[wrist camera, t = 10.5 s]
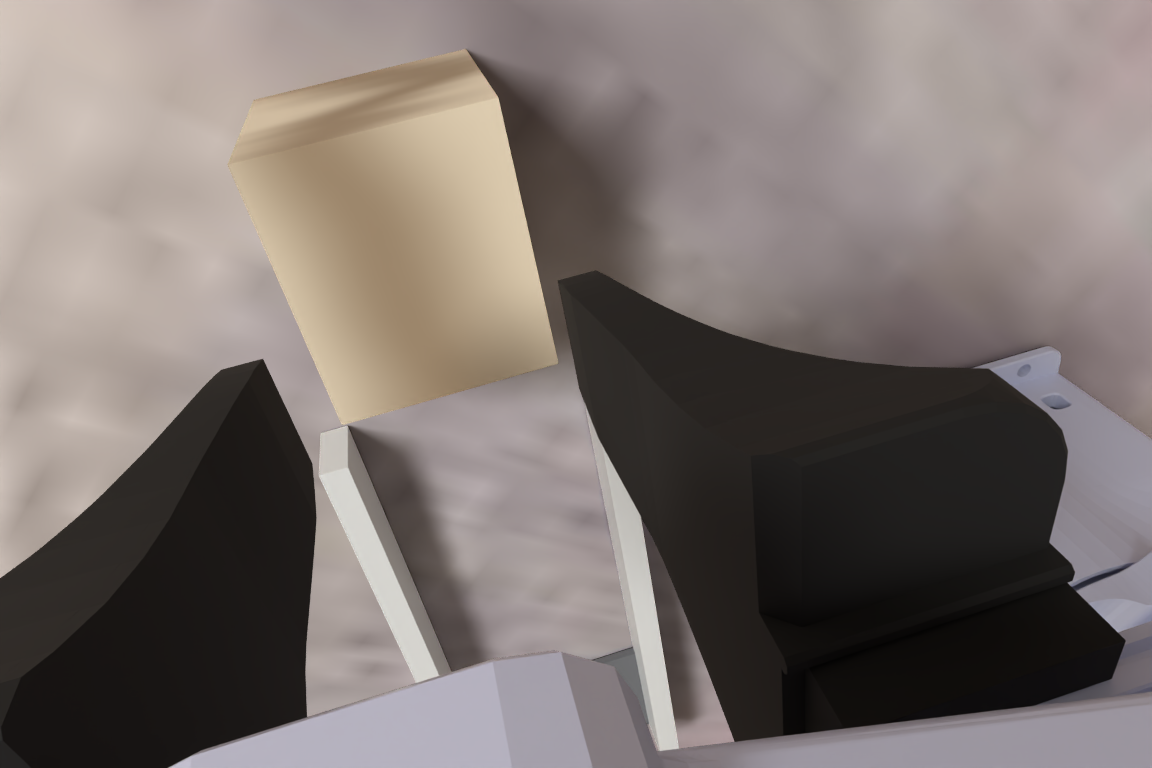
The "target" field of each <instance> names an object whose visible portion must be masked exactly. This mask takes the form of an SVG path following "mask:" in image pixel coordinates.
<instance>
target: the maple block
mask: <svg viewBox="0 0 1152 768" xmlns="http://www.w3.org/2000/svg"><path fill="white" fill-rule="evenodd" d="M228 167H229V169H230V172H231V174H232V176H233V178H234V181H235V183H236V185H237V188H238V190H239V192H240V194H241V197H242V199H243V201H244V203H245V206H246V208H247V210H248V213H249V215H250V217H251V219H252V222H253V224H254V226H255V228H256V231H257V233H258V235H259V238H260V240H261V242H262V244H263V247H264V249H265V251H266V253H267V256H268V258H269V260H270V263H271V265H272V267H273V269H274V272H275V274H276V276H277V278H278V281H279V283H280V285H281V288H282V290H283V292H284V294H285V297H286V299H287V301H288V303H289V306H290V308H291V310H292V313H293V315H294V317H295V319H296V322H297V324H298V326H299V328H300V331H301V333H302V335H303V338H304V340H305V342H306V344H307V347H308V349H309V351H310V353H311V356H312V358H313V360H314V363H315V365H316V367H317V369H318V372H319V374H320V376H321V378H322V381H323V383H324V385H325V388H326V390H327V392H328V394H329V397H330V399H331V401H332V403H333V406H334V408H335V410H336V413H337V415H338V417H339V419H340V422H341V424H342V425H344V424H348V423H351V422H355V421H358V420H362V419H365V418H369V417H372V416H376V415H380V414H383V413H387V412H390V411H394V410H397V409H401V408H404V407H408V406H411V405H415V404H418V403H422V402H425V401H429V400H432V399H436V398H439V397H443V396H446V395H450V394H453V393H457V392H460V391H464V390H467V389H471V388H474V387H478V386H481V385H485V384H489V383H492V382H496V381H499V380H503V379H506V378H510V377H513V376H517V375H520V374H524V373H527V372H531V371H534V370H538V369H541V368H545V367H548V366H552V365H555V364H558V359H557V355H556V350H555V346H554V342H553V337H552V333H551V328H550V324H549V319H548V315H547V311H546V306H545V302H544V297H543V293H542V288H541V284H540V280H539V275H538V271H537V266H536V262H535V258H534V253H533V249H532V244H531V240H530V235H529V231H528V227H527V222H526V218H525V213H524V209H523V204H522V200H521V196H520V191H519V187H518V182H517V178H516V173H515V169H514V165H513V160H512V156H511V151H510V147H509V143H508V138H507V134H506V129H505V125H504V120H503V116H502V112H501V107H500V103H499V98H498V96H497V95H496V93H495V92H494V90H493V89H492V87H491V86H490V84H489V83H488V81H487V80H486V78H485V77H484V75H483V74H482V72H481V71H480V69H479V68H478V66H477V65H476V63H475V62H474V60H473V59H472V58H471V56H470V55H469V53H468V52H467V50H466V49H464V50H460V51H455V52H451V53H447V54H443V55H439V56H435V57H430V58H426V59H422V60H418V61H414V62H410V63H406V64H401V65H397V66H393V67H389V68H385V69H381V70H377V71H372V72H368V73H364V74H360V75H356V76H352V77H347V78H343V79H339V80H335V81H331V82H327V83H323V84H318V85H314V86H310V87H306V88H302V89H298V90H293V91H289V92H285V93H281V94H277V95H273V96H269V97H264V98H260V99H256V100H254V101H253V103H252V106H251V108H250V110H249V113H248V115H247V118H246V120H245V123H244V125H243V128H242V130H241V133H240V135H239V138H238V140H237V142H236V145H235V147H234V150H233V152H232V155H231V157H230V160H229V162H228Z"/></svg>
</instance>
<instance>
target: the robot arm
mask: <svg viewBox="0 0 1152 768" xmlns="http://www.w3.org/2000/svg"><path fill="white" fill-rule="evenodd" d="M558 284H559V289H560V294H561V299H562V304H563V309H564V314H565V319H566V324H567V329H568V334H569V339H570V344H571V349H572V354H573V359H574V364H575V369H576V374H577V379H578V384H579V389H580V391H581V394H582V397H583V399H584V402H585V405H586V407H587V410H588V413H589V416H590V418H591V421H592V423H593V426H594V428H595V431H596V434H597V436H598V438H599V440H600V442H601V444H602V446H603V448H604V450H605V452H606V453H607V455H608V457H609V459H610V461H611V463H612V465H613V466H614V468H615V470H616V472H617V474H618V476H619V477H620V479H621V481H622V483H623V485H624V487H625V488H626V490H627V492H628V494H629V496H630V498H631V499H632V501H633V503H634V505H635V507H636V509H637V510H638V512H639V514H640V516H641V518H642V520H643V521H644V523H645V525H646V527H647V529H648V531H649V532H650V534H651V536H652V538H653V540H654V542H655V544H656V546H657V548H658V550H659V552H660V554H661V556H662V559H663V561H664V563H665V565H666V568H667V570H668V573H669V575H670V578H671V580H672V583H673V585H674V587H675V590H676V592H677V595H678V597H679V600H680V602H681V605H682V607H683V609H684V612H685V614H686V617H687V619H688V622H689V625H690V627H691V630H692V632H693V635H694V637H695V640H696V642H697V645H698V647H699V650H700V652H701V655H702V657H703V660H704V663H705V665H706V668H707V670H708V673H709V675H710V678H711V681H712V683H713V686H714V689H715V691H716V694H717V696H718V699H719V702H720V704H721V707H722V710H723V712H724V715H725V717H726V720H727V723H728V725H729V728H730V731H731V733H732V736H733V738H734V741H735V742H730V743H722V744H713V745H705V746H697V747H688V748H680V749H672V750H663V751H656V748H655V746H654V743H653V740H652V737H651V734H650V731H649V729H648V726H647V723H646V720H645V717H644V714H643V712H642V709H641V706H640V703H639V700H638V698H637V697H636V695H635V694H634V693H633V691H632V690H631V689H630V687H629V686H628V685H627V683H626V682H625V681H624V679H623V678H622V677H621V675H620V674H619V673H618V671H617V670H616V669H615V667H614V666H610V665H607V664H603V663H599V662H596V661H592V660H588V659H585V658H581V657H577V656H574V655H570V654H566V653H563V652H559V651H554V650H553V651H546V652H539V653H531V654H524V655H517V656H510V657H502V658H495V659H491V660H488V661H485V662H481V663H478V664H475V665H472V666H469V667H465V668H462V669H459V670H456V671H453V672H450V673H446V674H443V675H440V676H437V677H434V678H430V679H427V680H424V681H421V682H418V683H415V684H411V685H408V686H405V687H402V688H399V689H395V690H392V691H389V692H386V693H383V694H379V695H376V696H373V697H370V698H367V699H364V700H360V701H357V702H354V703H351V704H348V705H344V706H341V707H338V708H335V709H332V710H329V711H325V712H322V713H319V714H316V715H313V716H309V717H307V706H306V679H305V665H306V640H307V629H308V617H309V605H310V594H311V582H312V570H313V558H314V545H315V532H316V504H315V489H314V478H313V466H312V462H311V460H310V458H309V456H308V454H307V451H306V449H305V447H304V445H303V443H302V441H301V439H300V437H299V434H298V432H297V430H296V428H295V426H294V424H293V422H292V420H291V417H290V415H289V413H288V411H287V409H286V407H285V405H284V403H283V400H282V398H281V396H280V394H279V392H278V390H277V388H276V386H275V384H274V381H273V379H272V377H271V375H270V373H269V371H268V369H267V367H266V364H265V362H264V360H263V359H260V360H257V361H253V362H249V363H245V364H242V365H238V366H234V367H230V368H227V369H223V370H221V371H220V372H218V373H217V374H216V375H215V376H214V377H213V378H212V379H211V380H210V381H209V382H208V383H207V384H206V385H205V386H204V387H203V388H202V389H201V390H200V391H199V392H198V393H197V395H196V396H195V397H194V398H193V399H192V400H191V401H190V402H189V404H188V405H187V406H186V407H185V408H184V409H183V410H182V411H181V412H180V414H179V415H178V416H177V417H176V418H175V419H174V420H173V421H172V422H171V424H170V425H169V426H168V427H167V428H166V429H165V430H164V431H163V432H162V434H161V435H160V436H159V437H158V438H157V439H156V440H155V441H154V442H153V443H152V445H151V446H150V447H149V448H148V449H147V450H146V451H145V452H144V453H143V454H142V455H141V456H140V457H139V458H138V459H137V460H136V461H135V462H134V463H133V464H132V465H131V466H130V467H129V468H128V469H127V470H126V471H125V472H124V473H123V474H122V475H121V476H120V477H119V478H118V479H117V480H116V481H115V482H114V483H113V484H112V485H111V486H110V487H109V488H108V489H107V490H106V491H105V492H104V493H103V494H102V495H101V496H100V497H99V498H98V499H97V500H96V501H95V502H94V503H93V504H92V505H91V506H90V507H88V508H87V509H86V510H85V511H84V512H83V513H82V514H81V515H80V516H78V517H77V518H76V519H75V520H74V521H73V522H72V523H70V524H69V525H68V526H67V527H66V528H64V529H63V530H62V531H61V532H60V533H58V534H57V535H56V536H55V537H54V538H52V539H51V540H50V541H49V542H48V543H46V544H45V545H44V546H43V547H42V548H40V549H39V550H38V551H37V552H35V553H34V554H33V555H31V556H30V557H29V558H27V559H26V560H25V561H23V562H22V563H21V564H19V565H18V566H17V567H15V568H14V569H12V570H11V571H10V572H8V573H7V574H6V575H4V576H3V577H1V578H0V768H1152V439H1151V438H1149V437H1148V436H1147V435H1145V434H1144V433H1142V432H1141V431H1140V430H1138V429H1137V428H1135V427H1134V426H1132V425H1131V424H1130V423H1128V422H1127V421H1125V420H1124V419H1122V418H1121V417H1120V416H1118V415H1117V414H1115V413H1114V412H1113V411H1111V410H1110V409H1108V408H1107V407H1105V406H1104V405H1103V404H1101V403H1100V402H1098V401H1097V400H1096V399H1094V398H1093V397H1091V396H1090V395H1088V394H1087V393H1086V392H1084V391H1083V390H1081V389H1080V388H1079V387H1077V386H1076V385H1074V384H1073V383H1071V382H1070V381H1069V380H1067V379H1066V378H1064V377H1063V376H1062V375H1060V374H1059V373H1058V370H1059V366H1060V362H1061V354H1060V352H1059V351H1058V350H1056V349H1055V348H1053V347H1051V346H1046V347H1042V348H1038V349H1035V350H1032V351H1028V352H1025V353H1021V354H1018V355H1015V356H1011V357H1008V358H1004V359H1001V360H998V361H994V362H991V363H987V364H984V365H981V366H977V367H974V368H937V367H905V366H893V365H882V364H872V363H861V362H853V361H846V360H839V359H832V358H826V357H821V356H815V355H810V354H805V353H800V352H795V351H790V350H785V349H781V348H777V347H773V346H769V345H765V344H762V343H759V342H755V341H752V340H748V339H745V338H742V337H738V336H735V335H732V334H729V333H726V332H723V331H720V330H718V329H715V328H713V327H710V326H708V325H705V324H703V323H700V322H698V321H695V320H693V319H690V318H688V317H686V316H684V315H681V314H679V313H677V312H675V311H673V310H670V309H668V308H666V307H664V306H662V305H660V304H658V303H656V302H654V301H652V300H650V299H648V298H646V297H644V296H643V295H641V294H639V293H637V292H635V291H633V290H631V289H630V288H628V287H626V286H624V285H622V284H620V283H619V282H617V281H615V280H613V279H611V278H610V277H608V276H606V275H604V274H602V273H600V272H598V271H592V272H589V273H585V274H581V275H577V276H574V277H570V278H566V279H562V280H558Z"/></svg>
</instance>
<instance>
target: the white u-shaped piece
mask: <svg viewBox="0 0 1152 768" xmlns="http://www.w3.org/2000/svg"><path fill="white" fill-rule="evenodd" d="M584 404H585V402H584ZM585 409H586V414H587V419H588V424H589V429H590V434H591V439H592V444H593V449H594V454H595V459H596V464H597V469H598V475H599V480H600V485H601V490H602V495H603V500H604V505H605V510H606V515H607V520H608V525H609V530H610V535H611V540H612V545H613V550H614V555H615V560H616V565H617V570H618V575H619V580H620V585H621V590H622V595H623V600H624V605H625V610H626V615H627V620H628V625H629V630H630V635H631V640H632V645H633V648H630V649H627V650H623V651H620V652H617V653H614V654H611V655H608V656H605V657H602V658H598V659H595V660H592V661H596V662H599V663H603V664H607V665H610V666H614V667H615V669H616V670H617V671H618V673H619V674H620V675H621V677H622V678H623V679H624V681H625V682H626V683H627V685H628V686H629V687H630V689H631V690H632V691H633V693H634V694H635V695H636V697H637V698H638V700H639V703H640V706H641V709H642V712H643V714H644V717H645V720H646V723H647V724H649V725H650V728H651V731H652V734H653V736H654V739H655V742H656V745H657V748H658V750H659V751H663V750H672V749H679V746H678V740H677V734H676V728H675V722H674V716H673V710H672V703H671V697H670V691H669V685H668V679H667V673H666V667H665V661H664V655H663V649H662V643H661V637H660V631H659V624H658V618H657V612H656V606H655V600H654V594H653V588H652V582H651V576H650V570H649V564H648V558H647V552H646V546H645V539H644V533H643V527H642V521H641V516H640V514H639V512H638V510H637V509H636V507H635V505H634V503H633V501H632V499H631V498H630V496H629V494H628V492H627V490H626V488H625V487H624V485H623V483H622V481H621V479H620V477H619V476H618V474H617V472H616V470H615V468H614V466H613V465H612V463H611V461H610V459H609V457H608V455H607V453H606V452H605V450H604V448H603V446H602V444H601V442H600V440H599V438H598V436H597V434H596V431H595V428H594V426H593V423H592V421H591V418H590V416H589V413H588V410H587V407H586V405H585ZM319 477H320V479H321V481H322V484H323V486H324V488H325V490H326V492H327V494H328V496H329V498H330V501H331V503H332V505H333V507H334V509H335V511H336V513H337V515H338V518H339V520H340V522H341V524H342V526H343V528H344V530H345V532H346V535H347V537H348V539H349V541H350V543H351V545H352V547H353V549H354V552H355V554H356V556H357V558H358V560H359V562H360V564H361V566H362V569H363V571H364V573H365V575H366V577H367V579H368V581H369V583H370V586H371V588H372V590H373V592H374V594H375V596H376V598H377V600H378V603H379V605H380V607H381V609H382V611H383V613H384V615H385V617H386V620H387V622H388V624H389V626H390V628H391V630H392V632H393V634H394V637H395V639H396V641H397V643H398V645H399V647H400V649H401V651H402V654H403V656H404V658H405V660H406V662H407V664H408V666H409V668H410V671H411V673H412V675H413V677H414V679H415V681H416V683H418V682H421V681H424V680H427V679H430V678H434V677H437V676H440V675H443V674H446V673H450V672H451V669H450V667H449V664H448V662H447V660H446V657H445V655H444V653H443V650H442V648H441V646H440V643H439V641H438V638H437V636H436V634H435V631H434V629H433V627H432V624H431V622H430V619H429V617H428V615H427V612H426V610H425V608H424V605H423V603H422V600H421V598H420V596H419V593H418V591H417V589H416V586H415V584H414V582H413V579H412V577H411V574H410V572H409V570H408V567H407V565H406V563H405V560H404V558H403V555H402V553H401V551H400V548H399V546H398V544H397V541H396V539H395V536H394V534H393V532H392V529H391V527H390V525H389V522H388V520H387V518H386V515H385V513H384V510H383V508H382V506H381V503H380V501H379V499H378V496H377V494H376V491H375V489H374V487H373V484H372V482H371V480H370V477H369V475H368V473H367V470H366V468H365V465H364V463H363V461H362V458H361V456H360V454H359V451H358V449H357V446H356V444H355V442H354V439H353V437H352V435H351V432H350V430H349V427H348V426H344V427H341V428H337V429H334V430H330V431H326V432H323V433H321V437H320V459H319Z"/></svg>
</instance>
